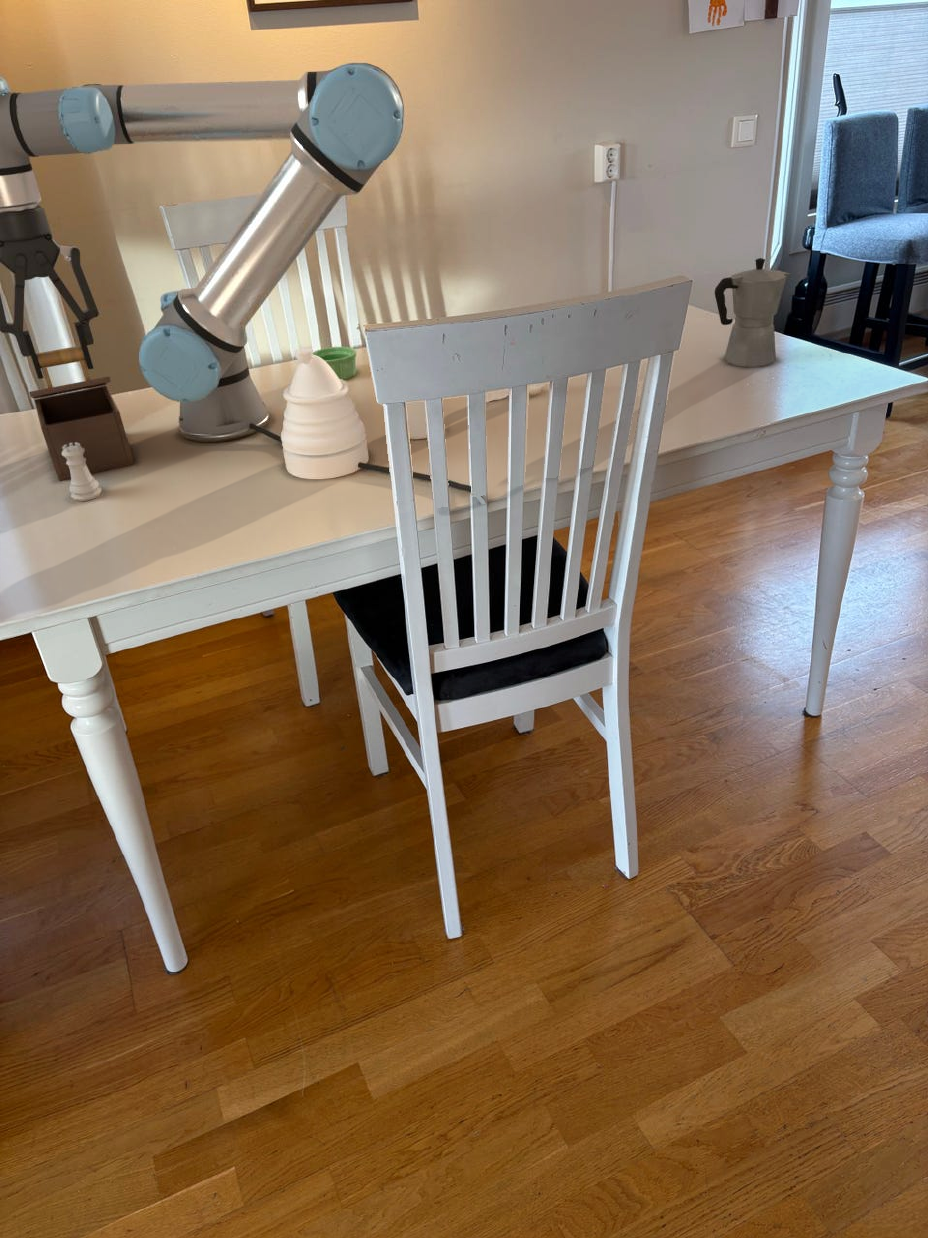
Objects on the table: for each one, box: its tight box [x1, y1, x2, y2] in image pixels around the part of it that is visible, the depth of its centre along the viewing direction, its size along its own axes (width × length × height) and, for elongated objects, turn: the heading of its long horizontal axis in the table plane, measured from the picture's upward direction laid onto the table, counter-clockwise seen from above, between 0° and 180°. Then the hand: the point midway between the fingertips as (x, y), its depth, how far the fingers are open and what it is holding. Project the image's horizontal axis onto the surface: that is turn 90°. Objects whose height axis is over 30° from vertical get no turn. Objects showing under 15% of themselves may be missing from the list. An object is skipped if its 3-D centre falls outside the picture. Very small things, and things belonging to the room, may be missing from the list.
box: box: [33, 385, 135, 482], centre depth 147 cm, size 16×12×9 cm
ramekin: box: [313, 346, 357, 381], centre depth 176 cm, size 9×9×4 cm
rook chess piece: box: [61, 442, 103, 502], centre depth 133 cm, size 4×4×8 cm
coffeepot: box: [714, 257, 791, 368], centre depth 163 cm, size 15×9×18 cm, turn 111°
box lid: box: [28, 345, 111, 400], centre depth 142 cm, size 16×12×6 cm
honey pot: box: [280, 347, 370, 480], centre depth 135 cm, size 13×13×18 cm
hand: (65, 371), depth 137 cm, fingers closed on box lid, 6 cm apart
